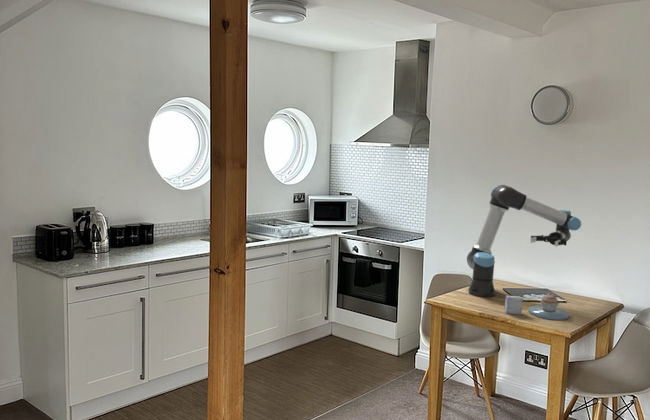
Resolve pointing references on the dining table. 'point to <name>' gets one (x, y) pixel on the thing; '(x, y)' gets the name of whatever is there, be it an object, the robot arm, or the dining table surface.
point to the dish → (549, 313)
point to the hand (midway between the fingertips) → (543, 242)
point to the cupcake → (549, 302)
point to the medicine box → (513, 305)
